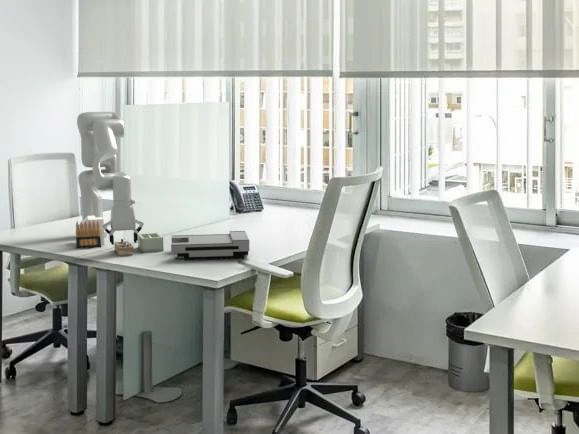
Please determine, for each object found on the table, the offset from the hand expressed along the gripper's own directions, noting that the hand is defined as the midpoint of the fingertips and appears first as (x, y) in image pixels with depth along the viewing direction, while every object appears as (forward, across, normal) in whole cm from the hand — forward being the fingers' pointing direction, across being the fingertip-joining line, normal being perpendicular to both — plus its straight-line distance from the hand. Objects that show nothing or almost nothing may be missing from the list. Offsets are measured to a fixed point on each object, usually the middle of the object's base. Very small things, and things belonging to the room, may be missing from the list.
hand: (123, 243), depth 322 cm
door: (+4, 0, 0) cm, 4 cm away
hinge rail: (+4, 0, 0) cm, 4 cm away
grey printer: (+5, -33, +17) cm, 38 cm away
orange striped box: (+4, +11, -24) cm, 27 cm away
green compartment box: (+4, -12, -3) cm, 13 cm away
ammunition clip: (+4, +13, -16) cm, 21 cm away
